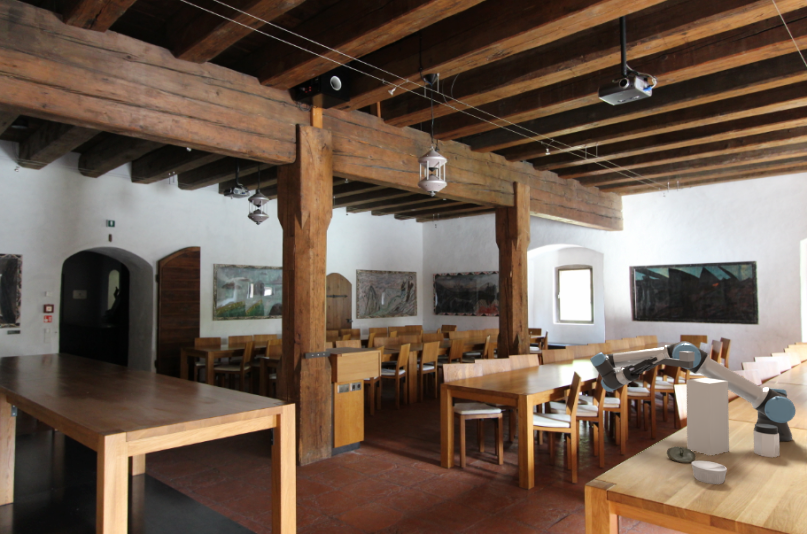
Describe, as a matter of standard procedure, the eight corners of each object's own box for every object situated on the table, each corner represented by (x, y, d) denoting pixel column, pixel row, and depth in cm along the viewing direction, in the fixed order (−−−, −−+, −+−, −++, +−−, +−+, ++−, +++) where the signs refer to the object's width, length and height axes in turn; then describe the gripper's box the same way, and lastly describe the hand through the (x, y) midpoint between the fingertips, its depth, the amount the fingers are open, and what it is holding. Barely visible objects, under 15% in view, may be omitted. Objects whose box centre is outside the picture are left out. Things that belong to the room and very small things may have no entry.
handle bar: (655, 362, 253) (655, 347, 253) (694, 367, 236) (694, 352, 236) (649, 363, 250) (649, 348, 250) (688, 368, 234) (687, 352, 234)
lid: (694, 458, 217) (694, 445, 217) (697, 465, 207) (697, 452, 208) (666, 454, 221) (666, 442, 221) (667, 461, 212) (667, 448, 212)
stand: (705, 445, 235) (705, 377, 236) (729, 451, 226) (728, 381, 228) (687, 449, 228) (686, 379, 229) (710, 456, 219) (709, 383, 221)
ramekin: (727, 488, 183) (726, 472, 184) (690, 481, 189) (690, 466, 190) (727, 478, 193) (727, 464, 193) (692, 472, 199) (692, 458, 199)
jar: (772, 458, 217) (772, 429, 217) (751, 453, 224) (750, 425, 224) (782, 455, 222) (781, 426, 222) (760, 450, 229) (760, 422, 229)
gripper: (641, 380, 265) (680, 361, 248) (620, 382, 257) (658, 363, 240) (635, 366, 268) (672, 347, 251) (614, 368, 260) (651, 348, 243)
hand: (665, 355), depth 246 cm, fingers closed on handle bar, 3 cm apart
